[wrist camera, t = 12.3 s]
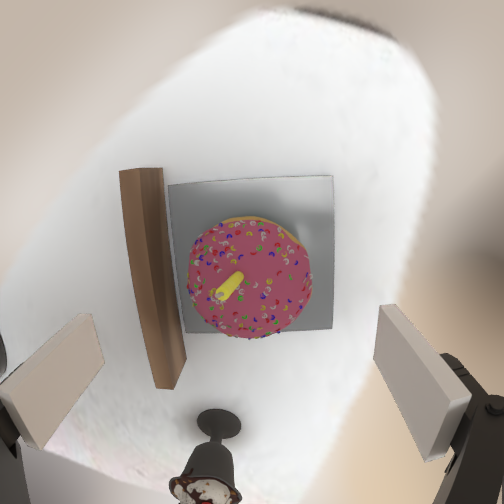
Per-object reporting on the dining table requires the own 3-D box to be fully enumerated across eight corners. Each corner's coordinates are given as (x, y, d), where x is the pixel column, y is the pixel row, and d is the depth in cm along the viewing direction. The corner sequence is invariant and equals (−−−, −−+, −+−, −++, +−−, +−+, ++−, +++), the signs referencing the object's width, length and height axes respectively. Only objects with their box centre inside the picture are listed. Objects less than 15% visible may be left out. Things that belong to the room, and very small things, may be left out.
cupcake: (181, 238, 26) (116, 291, 14) (276, 189, 24) (282, 205, 13) (232, 325, 27) (208, 421, 16) (322, 284, 26) (357, 366, 14)
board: (188, 327, 29) (185, 333, 28) (171, 184, 26) (167, 185, 25) (330, 323, 28) (332, 328, 27) (330, 175, 25) (333, 175, 24)
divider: (171, 358, 30) (156, 388, 25) (144, 170, 25) (118, 170, 21) (186, 359, 30) (173, 389, 25) (162, 167, 25) (139, 168, 20)
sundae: (233, 396, 31) (213, 519, 16) (257, 436, 32) (249, 548, 17) (179, 408, 31) (140, 517, 17) (206, 445, 33) (182, 548, 18)
